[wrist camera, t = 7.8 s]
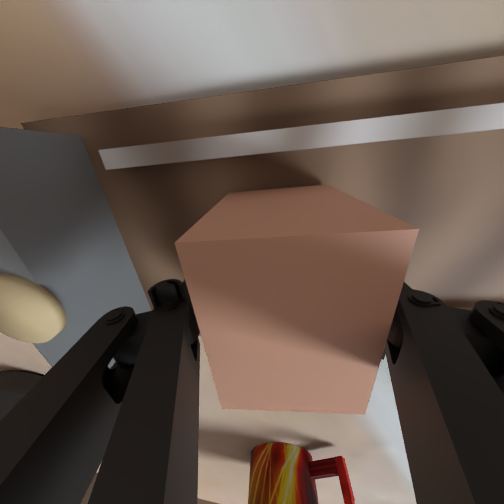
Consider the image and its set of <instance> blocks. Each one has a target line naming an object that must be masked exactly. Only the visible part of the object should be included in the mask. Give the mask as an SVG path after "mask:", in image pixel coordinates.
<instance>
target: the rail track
mask: <svg viewBox="0 0 504 504" xmlns="http://www.w3.org/2000/svg"><path fill="white" fill-rule="evenodd" d="M21 124H22V126H23V128H24V130H32V131H41V132H51V133H60V134H69V135H78V136H81V138H82V140H83V143H84V145H85V148H86V150H87V153H88V155H89V157H90V160H91V162H92V165H93V167H94V170H95V172H96V175H97V177H98V180H99V182H100V185H101V187H102V189H103V192H104V194H105V197H106V199H107V202H108V204H109V207H110V209H111V212H112V214H113V216H114V219H115V221H116V224H117V226H118V229H119V231H120V234H121V236H122V239H123V241H124V243H125V246H126V248H127V251H128V253H129V256H130V258H131V261H132V263H133V266H134V268H135V271H136V273H137V275H138V278H139V280H140V283H141V285H142V288H143V290H144V293H145V295H146V298H147V300H148V302H149V305H150V307H151V310H153V309H154V307H153V304H152V302H151V299H150V297H149V294H148V292H147V291H148V290H149V289H150V288H151V287H152V286H153V285H155V284H156V283H158V282H161V281H164V280H167V279H178V280H180V281H181V282H184V279H185V278H184V274H183V271H182V267H181V264H180V260H179V257H178V253H177V250H176V246H175V242H176V241H177V240H178V239H179V238H180V237H181V236H182V235H184V234H185V233H186V232H187V231H188V230H189V229H190V228H191V227H192V226H193V225H194V224H196V223H197V222H198V221H199V220H200V219H201V218H202V217H203V216H204V215H205V214H206V213H208V212H209V211H210V210H211V209H212V208H213V207H214V206H215V205H216V204H217V203H219V202H220V201H221V200H222V199H223V198H224V197H225V196H226V195H227V194H228V193H231V192H243V191H255V190H267V189H279V188H291V187H303V186H315V185H327V184H328V185H330V186H332V187H334V188H336V189H338V190H340V191H342V192H344V193H346V194H348V195H350V196H352V197H354V198H356V199H358V200H361V201H363V202H365V203H367V204H369V205H371V206H373V207H375V208H377V209H379V210H381V211H383V212H385V213H387V214H389V215H391V216H394V217H396V218H398V219H400V220H402V221H404V222H406V223H408V224H410V225H412V226H414V227H416V228H418V229H419V232H418V235H417V238H416V242H415V245H414V249H413V252H412V255H411V259H410V262H409V266H408V269H407V273H406V276H405V279H404V282H405V283H406V284H407V285H408V286H410V287H411V288H412V289H414V290H420V291H424V292H427V293H429V294H432V295H434V296H435V297H437V298H439V299H440V300H441V301H442V302H443V303H444V304H445V305H446V306H448V307H453V308H459V309H465V310H472V308H473V306H474V304H475V303H476V302H478V301H482V300H489V301H498V302H502V303H504V56H497V57H490V58H483V59H476V60H469V61H462V62H455V63H447V64H440V65H433V66H426V67H419V68H412V69H405V70H398V71H390V72H383V73H376V74H369V75H362V76H355V77H348V78H340V79H333V80H326V81H319V82H312V83H305V84H298V85H291V86H283V87H276V88H269V89H262V90H255V91H248V92H241V93H233V94H226V95H219V96H212V97H205V98H198V99H191V100H184V101H176V102H169V103H162V104H155V105H148V106H141V107H134V108H126V109H119V110H112V111H105V112H98V113H91V114H84V115H77V116H69V117H62V118H55V119H48V120H41V121H34V122H27V123H21ZM199 335H201V334H200V333H199Z"/></svg>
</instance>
